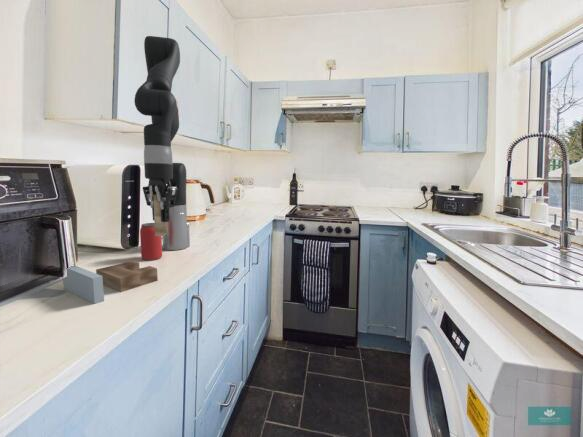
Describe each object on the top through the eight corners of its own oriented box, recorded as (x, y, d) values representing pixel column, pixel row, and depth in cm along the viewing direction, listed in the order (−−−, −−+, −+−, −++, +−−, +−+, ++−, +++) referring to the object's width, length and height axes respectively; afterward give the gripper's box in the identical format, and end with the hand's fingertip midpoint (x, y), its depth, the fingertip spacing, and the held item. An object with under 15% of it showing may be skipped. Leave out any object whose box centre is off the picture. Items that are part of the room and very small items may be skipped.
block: (133, 272, 89) (132, 260, 89) (157, 280, 83) (156, 268, 83) (97, 281, 81) (96, 269, 81) (121, 291, 75) (120, 278, 74)
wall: (72, 285, 78) (70, 263, 77) (104, 300, 70) (102, 276, 69) (63, 288, 76) (61, 265, 75) (94, 303, 68) (92, 278, 67)
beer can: (144, 262, 100) (142, 226, 98) (139, 257, 105) (137, 223, 103) (164, 258, 104) (163, 224, 102) (159, 254, 109) (157, 222, 107)
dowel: (163, 233, 92) (161, 194, 90) (170, 234, 90) (168, 194, 88) (152, 235, 89) (150, 194, 87) (159, 236, 87) (158, 195, 85)
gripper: (185, 162, 86) (187, 222, 88) (155, 163, 93) (158, 217, 96) (162, 161, 80) (164, 225, 82) (132, 161, 87) (135, 220, 90)
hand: (161, 220), depth 89 cm, fingers closed on dowel, 3 cm apart
